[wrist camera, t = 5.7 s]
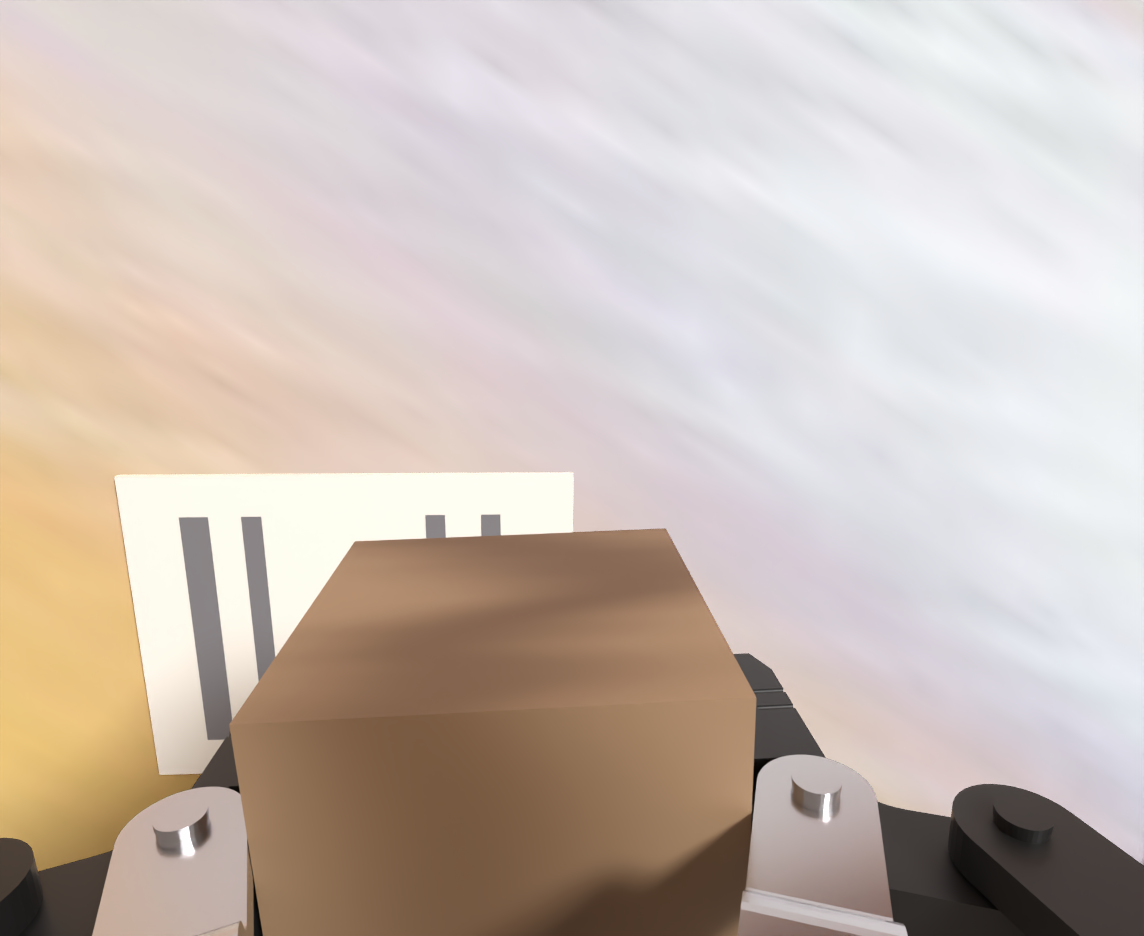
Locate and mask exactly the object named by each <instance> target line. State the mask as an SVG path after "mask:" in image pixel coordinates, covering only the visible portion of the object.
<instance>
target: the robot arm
mask: <svg viewBox="0 0 1144 936" xmlns="http://www.w3.org/2000/svg"><path fill="white" fill-rule="evenodd" d="M733 655H734V657H735V659H736V660H737V662H738V664H739V666H740V668H741V670H742V672H743V673H744V675H745V677H746V679H747V681H748V683H749V685H750V686H751V688H752V690H753V692H754V694H755V696H756V720H755V744H754V768H753V792H752V816H751V840H750V853H749V862H748V872H747V882H746V890H744V889H743V894H742V901H741V910H740V919H739V929H738V936H1144V866H1143V865H1142V864H1141V863H1139V862H1138V861H1136V860H1135V859H1134V858H1132V857H1131V856H1130V855H1128V854H1127V853H1126V852H1124V851H1123V850H1121V849H1120V848H1119V847H1117V846H1116V845H1115V844H1113V843H1112V842H1110V841H1109V840H1108V839H1106V838H1105V837H1104V836H1102V835H1101V834H1099V833H1098V832H1097V831H1095V830H1094V829H1093V828H1091V827H1090V826H1089V825H1087V824H1086V823H1084V822H1083V821H1082V820H1080V819H1079V818H1078V817H1076V816H1075V815H1073V814H1072V813H1071V812H1069V811H1068V810H1066V809H1065V808H1063V807H1062V806H1060V805H1059V804H1057V803H1055V802H1053V801H1051V800H1049V799H1047V798H1045V797H1043V796H1040V795H1038V794H1036V793H1033V792H1030V791H1027V790H1024V789H1020V788H1016V787H1012V786H1006V785H997V784H981V785H975V786H971V787H968V788H966V789H964V790H962V791H961V792H959V793H958V794H957V796H956V797H955V799H954V801H953V806H952V814H951V817H945V816H939V815H934V814H928V813H922V812H916V811H910V810H905V809H900V808H895V807H892V806H888V805H885V804H882V803H880V802H877V798H876V794H875V792H874V790H873V788H872V787H871V786H870V784H869V783H868V782H867V781H866V780H865V779H864V778H863V777H862V776H861V775H860V774H858V773H857V772H856V771H854V770H853V769H851V768H849V767H847V766H845V765H844V764H841V763H839V762H836V761H834V760H831V759H827V758H825V756H824V754H823V753H822V751H821V749H820V748H819V746H818V745H817V743H816V741H815V740H814V738H813V736H812V735H811V733H810V732H809V730H808V728H807V727H806V725H805V723H804V722H803V720H802V718H801V717H800V715H799V714H798V712H797V710H796V709H795V708H793V704H792V702H791V700H790V699H789V697H788V696H787V694H786V692H783V687H782V686H781V684H780V683H779V681H778V679H777V678H776V676H775V674H774V673H773V671H772V669H770V668H769V667H767V666H766V665H765V664H763V663H762V662H760V661H759V660H757V659H756V658H755V657H753V656H752V655H750V654H749V653H748V654H733ZM0 936H263V932H262V926H261V920H260V914H259V908H258V901H257V895H256V889H255V883H254V876H253V870H252V864H251V858H250V851H249V845H248V839H247V833H246V826H245V820H244V814H243V808H242V801H241V795H240V789H239V783H238V777H237V770H236V764H235V758H234V752H233V745H232V739H231V733H230V735H229V737H226V738H225V740H224V741H223V743H222V744H221V746H220V747H219V749H218V750H217V752H216V753H215V755H214V756H213V757H212V759H211V760H210V762H209V763H208V765H207V766H206V768H205V769H204V771H203V772H202V774H201V775H200V777H199V778H198V780H197V781H196V783H195V784H194V786H193V787H192V789H190V790H186V791H182V792H179V793H176V794H173V795H171V796H168V797H166V798H164V799H162V800H160V801H158V802H156V803H154V804H152V805H151V806H149V807H147V808H146V809H144V810H143V811H141V812H140V813H139V814H137V815H136V816H135V817H134V818H133V819H132V820H130V821H129V822H128V823H127V825H126V826H125V827H124V828H123V829H122V830H121V832H120V834H119V835H118V837H117V839H116V842H115V844H114V848H113V851H110V852H107V853H104V854H101V855H97V856H94V857H90V858H86V859H83V860H79V861H75V862H72V863H68V864H64V865H61V866H57V867H53V868H50V869H46V870H42V871H39V872H38V870H37V866H36V862H35V858H34V854H33V851H32V848H31V847H30V846H29V845H28V844H27V843H25V842H23V841H21V840H17V839H13V838H0Z"/></svg>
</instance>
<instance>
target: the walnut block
mask: <svg viewBox="0 0 1144 936" xmlns="http://www.w3.org/2000/svg"><path fill="white" fill-rule="evenodd" d="M755 720H756V696H755V694H754V692H753V690H752V688H751V686H750V685H749V683H748V681H747V679H746V677H745V675H744V673H743V672H742V670H741V668H740V666H739V664H738V662H737V660H736V659H735V657H734V655H733V653H732V651H731V649H730V647H729V645H728V644H727V642H726V640H725V638H724V636H723V634H722V632H721V631H720V629H719V627H718V625H717V623H716V621H715V619H714V618H713V616H712V614H711V612H710V610H709V608H708V606H707V605H706V603H705V601H704V599H703V597H702V595H701V593H700V592H699V590H698V588H697V586H696V584H695V582H694V580H693V578H692V577H691V575H690V573H689V571H688V569H687V567H686V565H685V564H684V562H683V560H682V558H681V556H680V554H679V552H678V551H677V549H676V547H675V545H674V543H673V541H672V539H671V538H670V536H669V534H668V532H667V530H666V529H643V530H618V531H594V532H570V533H546V534H521V535H497V536H473V537H448V538H424V539H400V540H375V541H355V542H354V543H353V545H352V546H351V548H350V549H349V551H348V552H347V554H346V555H345V556H344V558H343V559H342V561H341V562H340V564H339V565H338V567H337V568H336V570H335V571H334V572H333V574H332V575H331V577H330V578H329V580H328V581H327V583H326V584H325V586H324V587H323V589H322V590H321V591H320V593H319V594H318V596H317V597H316V599H315V600H314V602H313V603H312V605H311V606H310V608H309V609H308V610H307V612H306V613H305V615H304V616H303V618H302V619H301V621H300V622H299V624H298V625H297V626H296V628H295V629H294V631H293V632H292V634H291V635H290V637H289V638H288V640H287V641H286V643H285V644H284V645H283V647H282V648H281V650H280V651H279V653H278V654H277V656H276V657H275V659H274V660H273V662H272V663H271V664H270V666H269V667H268V669H267V670H266V672H265V673H264V675H263V676H262V678H261V679H260V681H259V682H258V683H257V685H256V686H255V688H254V689H253V691H252V692H251V694H250V695H249V697H248V698H247V699H246V701H245V702H244V704H243V705H242V707H241V708H240V710H239V711H238V713H237V714H236V716H235V717H234V718H233V720H232V721H231V723H230V724H229V727H230V733H231V739H232V745H233V752H234V758H235V764H236V770H237V777H238V783H239V789H240V795H241V801H242V808H243V814H244V820H245V826H246V833H247V839H248V845H249V851H250V858H251V864H252V870H253V876H254V883H255V889H256V895H257V901H258V908H259V914H260V920H261V926H262V932H263V936H738V929H739V919H740V910H741V901H742V894H743V889H744V890H746V882H747V872H748V862H749V853H750V840H751V816H752V792H753V768H754V744H755Z"/></svg>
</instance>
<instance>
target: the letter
mask: <svg viewBox="0 0 1144 936" xmlns="http://www.w3.org/2000/svg"><path fill="white" fill-rule="evenodd" d="M114 478H115V485H116V491H117V498H118V505H119V511H120V518H121V525H122V531H123V538H124V544H125V551H126V558H127V564H128V571H129V577H130V584H131V591H132V597H133V604H134V610H135V617H136V624H137V630H138V637H139V643H140V650H141V657H142V663H143V670H144V676H145V683H146V690H147V696H148V703H149V709H150V716H151V723H152V729H153V736H154V742H155V749H156V756H157V762H158V769H159V775H172V774H202V772H203V771H204V769H205V768H206V766H207V765H208V763H209V762H210V760H211V759H212V757H213V756H214V755H215V753H216V752H217V750H218V749H219V747H220V746H221V744H222V743H223V741H224V740H225V738H226V737H229V735H230V727H229V724H230V723H231V721H232V720H233V718H234V717H235V716H236V714H237V713H238V711H239V710H240V708H241V707H242V705H243V704H244V702H245V701H246V699H247V698H248V697H249V695H250V694H251V692H252V691H253V689H254V688H255V686H256V685H257V683H258V682H259V681H260V679H261V678H262V676H263V675H264V673H265V672H266V670H267V669H268V667H269V666H270V664H271V663H272V662H273V660H274V659H275V657H276V656H277V654H278V653H279V651H280V650H281V648H282V647H283V645H284V644H285V643H286V641H287V640H288V638H289V637H290V635H291V634H292V632H293V631H294V629H295V628H296V626H297V625H298V624H299V622H300V621H301V619H302V618H303V616H304V615H305V613H306V612H307V610H308V609H309V608H310V606H311V605H312V603H313V602H314V600H315V599H316V597H317V596H318V594H319V593H320V591H321V590H322V589H323V587H324V586H325V584H326V583H327V581H328V580H329V578H330V577H331V575H332V574H333V572H334V571H335V570H336V568H337V567H338V565H339V564H340V562H341V561H342V559H343V558H344V556H345V555H346V554H347V552H348V551H349V549H350V548H351V546H352V545H353V543H354V542H355V541H375V540H400V539H424V538H448V537H473V536H497V535H521V534H546V533H570V532H573V472H498V473H324V474H150V475H117V476H115V477H114Z"/></svg>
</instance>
